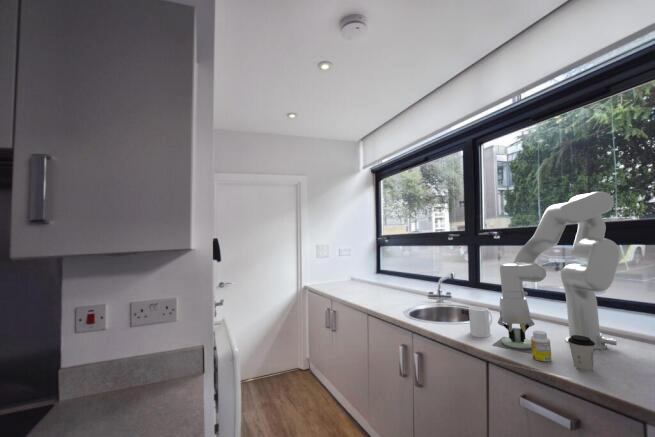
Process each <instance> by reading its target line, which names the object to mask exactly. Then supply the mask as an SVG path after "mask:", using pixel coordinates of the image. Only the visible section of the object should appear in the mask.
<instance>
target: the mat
mask: <svg viewBox="0 0 655 437" xmlns="http://www.w3.org/2000/svg"><path fill="white" fill-rule="evenodd" d="M506 337H507V336H502V337H501V338H500V339H498V340H497V341H495V342H494V343H492V345H491V346H493V347H497V348H502V349H507V350H510V351H511V350H512V351H516V352H521V353H525V354H529V355H532V348H530V349H517V348H512V347H508V346H505V345H504V344H502V339H503V338H506Z"/></svg>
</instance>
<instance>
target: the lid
mask: <svg viewBox="0 0 655 437" xmlns="http://www.w3.org/2000/svg"><path fill="white" fill-rule="evenodd" d="M512 330H513V332H514V340H515V342H512V340H511V339H509V336H505V337H506V338H503V339H502V344H504V345H505V346H508V347H512V348H517V349H530V348H532V345H531V339H528V338H526V339H524V342H522V341H521V331H520V328H519V327H512Z"/></svg>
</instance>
